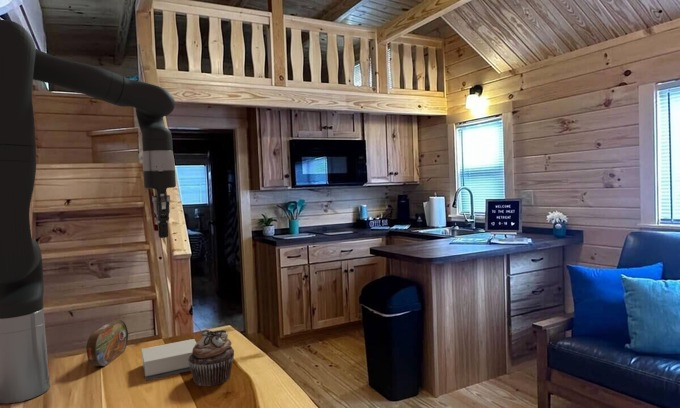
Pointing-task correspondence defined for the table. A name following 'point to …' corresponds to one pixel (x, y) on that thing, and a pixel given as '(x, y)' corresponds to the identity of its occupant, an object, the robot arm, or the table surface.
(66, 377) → the table surface
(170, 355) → the tile
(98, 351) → the tin
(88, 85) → the robot arm
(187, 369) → the mat
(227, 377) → the cupcake
